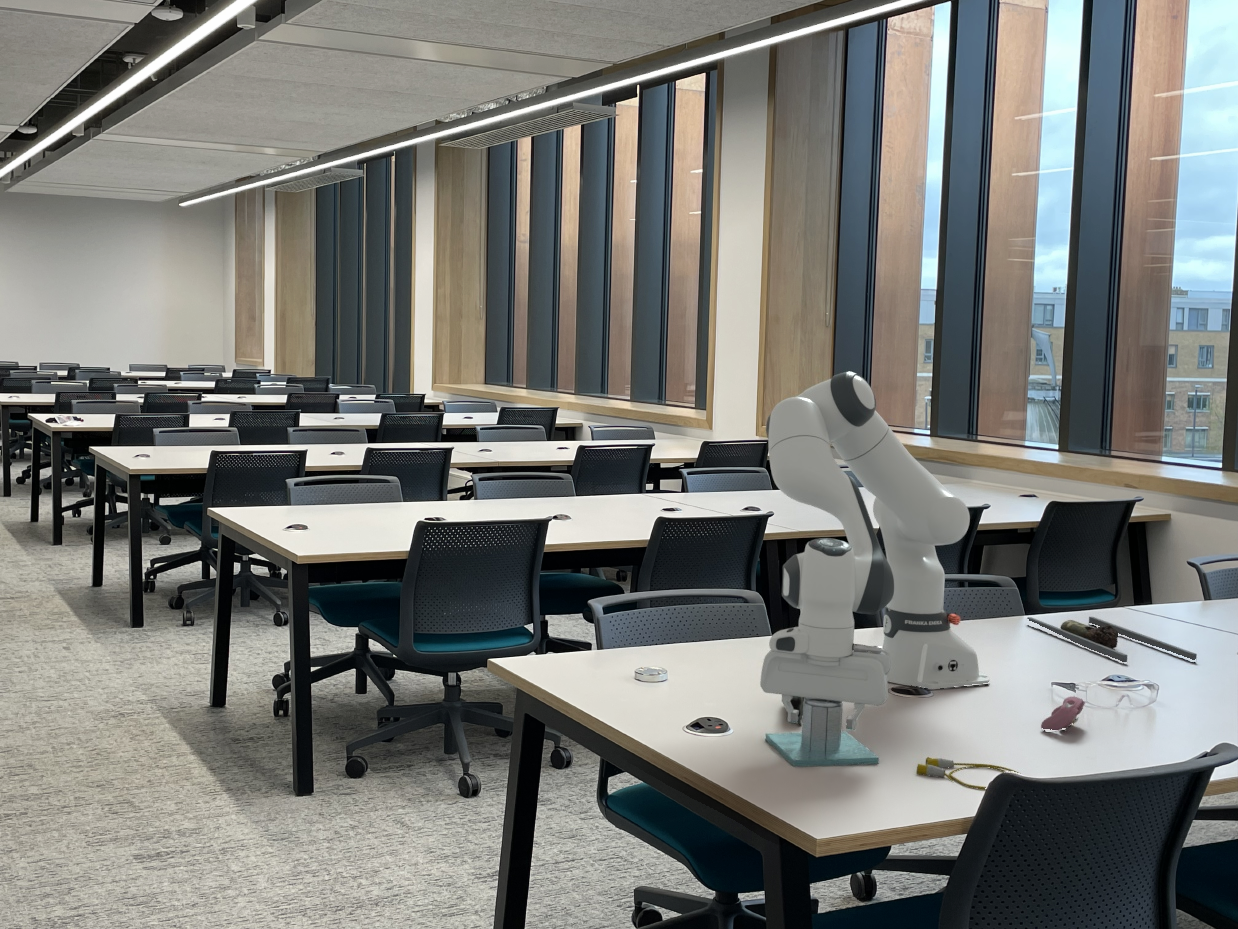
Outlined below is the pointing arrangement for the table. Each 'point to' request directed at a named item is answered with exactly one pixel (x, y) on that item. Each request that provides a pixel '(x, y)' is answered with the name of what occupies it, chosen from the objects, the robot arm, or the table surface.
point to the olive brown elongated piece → (1093, 633)
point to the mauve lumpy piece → (1064, 714)
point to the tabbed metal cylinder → (821, 724)
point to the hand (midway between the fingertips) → (821, 725)
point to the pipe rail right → (1144, 638)
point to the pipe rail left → (1083, 641)
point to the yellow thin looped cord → (938, 764)
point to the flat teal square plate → (802, 756)
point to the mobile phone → (797, 707)
